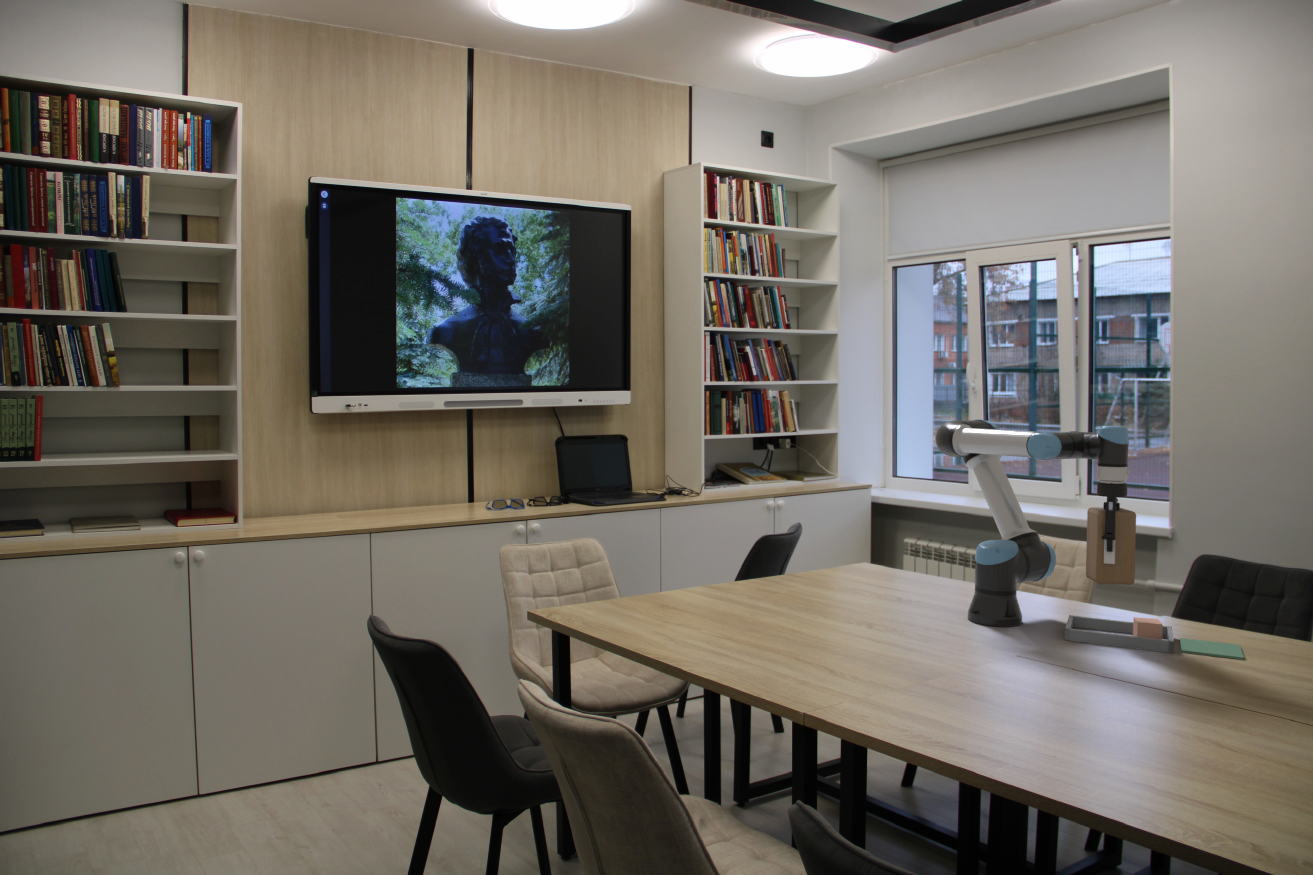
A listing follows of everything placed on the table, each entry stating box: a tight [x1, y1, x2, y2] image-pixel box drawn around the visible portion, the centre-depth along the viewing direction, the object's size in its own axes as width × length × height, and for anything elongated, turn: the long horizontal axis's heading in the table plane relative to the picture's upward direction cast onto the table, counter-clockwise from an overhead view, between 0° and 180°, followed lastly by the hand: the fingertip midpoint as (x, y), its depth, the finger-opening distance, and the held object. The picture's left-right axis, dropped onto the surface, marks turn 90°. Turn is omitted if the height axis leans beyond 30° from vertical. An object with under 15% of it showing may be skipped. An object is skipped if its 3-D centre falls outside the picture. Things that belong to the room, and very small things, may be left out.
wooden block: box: [1085, 507, 1137, 586], centre depth 258 cm, size 10×10×20 cm
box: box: [1132, 616, 1164, 640], centre depth 255 cm, size 6×6×6 cm
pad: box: [1179, 637, 1245, 661], centre depth 249 cm, size 14×14×1 cm
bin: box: [1063, 614, 1175, 654], centre depth 259 cm, size 26×18×3 cm
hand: (1110, 560), depth 259 cm, fingers closed on wooden block, 12 cm apart
